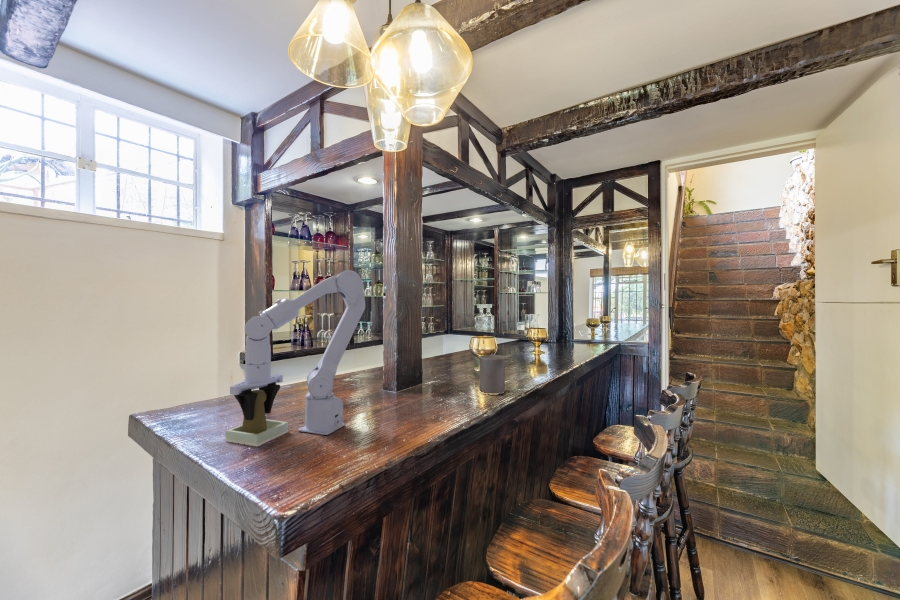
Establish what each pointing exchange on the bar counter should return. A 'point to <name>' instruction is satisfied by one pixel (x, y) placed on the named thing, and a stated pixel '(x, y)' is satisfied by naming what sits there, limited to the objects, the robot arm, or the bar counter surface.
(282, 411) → the bar counter surface
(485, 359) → the pillar candle
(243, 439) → the tray
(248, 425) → the olive pepper mill
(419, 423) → the bar counter surface
